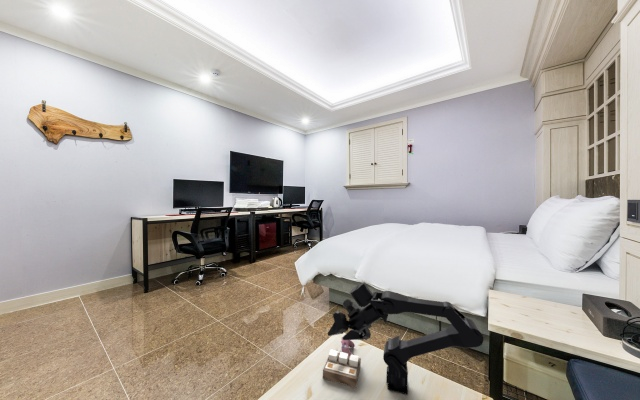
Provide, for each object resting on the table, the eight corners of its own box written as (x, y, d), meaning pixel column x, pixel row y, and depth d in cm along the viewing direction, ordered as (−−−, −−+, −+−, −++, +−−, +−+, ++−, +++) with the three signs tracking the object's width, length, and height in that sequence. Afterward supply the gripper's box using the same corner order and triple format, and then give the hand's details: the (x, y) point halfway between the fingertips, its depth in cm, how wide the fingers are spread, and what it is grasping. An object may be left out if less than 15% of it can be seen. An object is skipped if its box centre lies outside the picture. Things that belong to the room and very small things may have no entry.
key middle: (348, 360, 87) (348, 353, 87) (346, 365, 84) (346, 359, 84) (340, 358, 88) (340, 351, 88) (338, 363, 85) (338, 357, 85)
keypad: (360, 365, 87) (360, 357, 87) (356, 387, 77) (356, 378, 77) (330, 358, 91) (330, 350, 91) (322, 378, 81) (322, 369, 81)
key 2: (358, 362, 86) (358, 356, 86) (357, 368, 83) (357, 361, 83) (350, 360, 86) (350, 354, 86) (349, 366, 84) (349, 359, 84)
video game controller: (345, 349, 99) (339, 334, 99) (355, 345, 98) (348, 330, 99) (346, 366, 89) (338, 349, 89) (357, 361, 88) (349, 345, 89)
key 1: (338, 357, 88) (338, 351, 88) (336, 362, 85) (336, 356, 85) (330, 355, 89) (330, 349, 89) (328, 360, 86) (328, 354, 86)
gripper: (372, 302, 94) (344, 321, 98) (345, 288, 84) (315, 310, 88) (384, 329, 85) (352, 349, 89) (355, 318, 75) (321, 341, 79)
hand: (335, 336), depth 86 cm, fingers open, 9 cm apart
